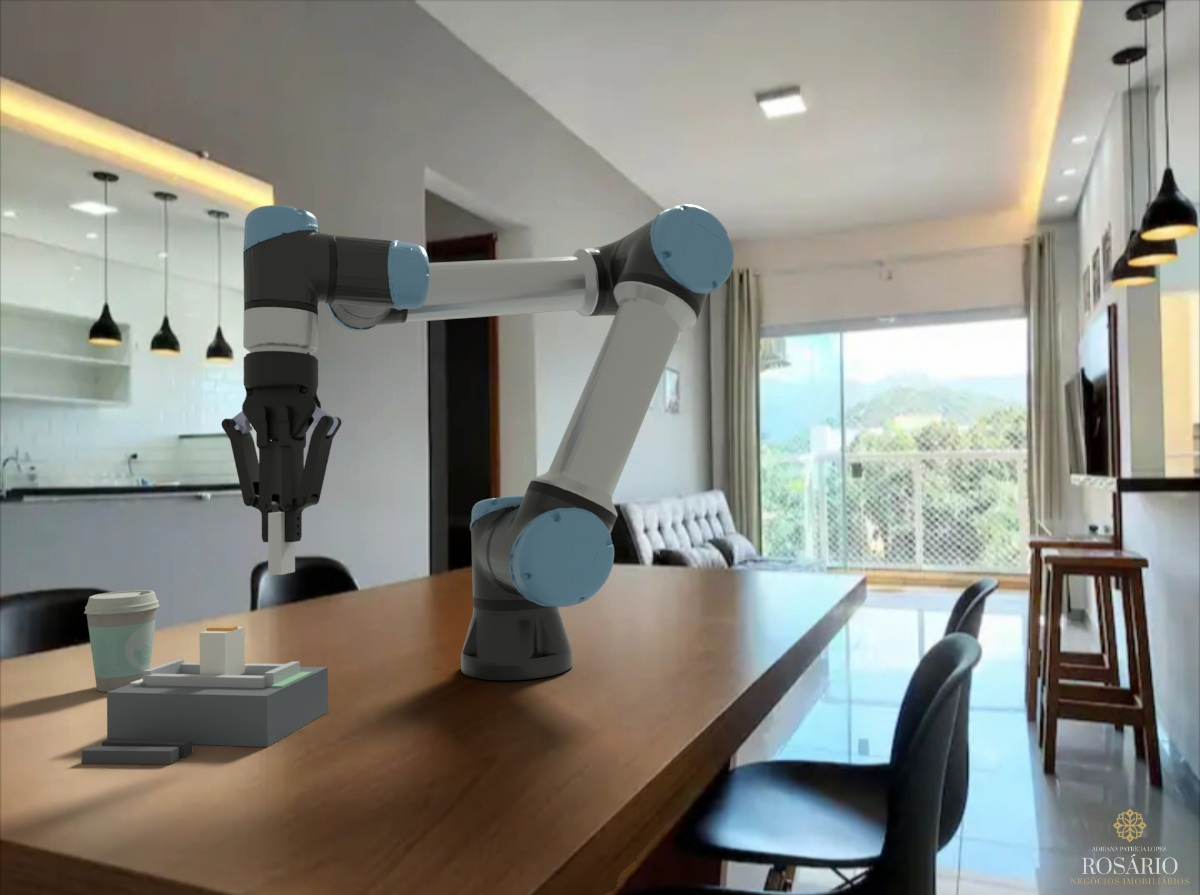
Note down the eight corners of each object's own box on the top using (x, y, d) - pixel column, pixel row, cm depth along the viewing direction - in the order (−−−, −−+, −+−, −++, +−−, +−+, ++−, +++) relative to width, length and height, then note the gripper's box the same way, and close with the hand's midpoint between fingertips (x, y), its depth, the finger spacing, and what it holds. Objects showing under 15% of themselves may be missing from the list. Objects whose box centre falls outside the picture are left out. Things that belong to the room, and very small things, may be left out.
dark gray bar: (178, 759, 78) (178, 746, 78) (171, 764, 77) (170, 751, 77) (90, 758, 79) (90, 746, 79) (81, 763, 78) (81, 750, 78)
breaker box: (328, 711, 93) (327, 654, 93) (267, 746, 81) (266, 681, 81) (185, 708, 96) (185, 653, 96) (107, 741, 84) (106, 678, 84)
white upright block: (244, 672, 90) (244, 624, 90) (225, 680, 87) (224, 630, 87) (219, 672, 90) (219, 624, 91) (199, 680, 87) (199, 630, 87)
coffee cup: (126, 696, 102) (125, 599, 102) (68, 694, 104) (67, 599, 104) (174, 678, 110) (173, 589, 111) (120, 677, 112) (119, 589, 113)
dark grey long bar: (192, 752, 80) (192, 740, 80) (184, 757, 78) (184, 744, 79) (110, 750, 81) (110, 737, 81) (101, 754, 80) (101, 741, 80)
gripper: (354, 356, 91) (355, 569, 90) (247, 361, 93) (247, 569, 92) (319, 345, 84) (320, 577, 83) (204, 351, 86) (204, 577, 85)
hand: (281, 573), depth 88 cm, fingers closed
